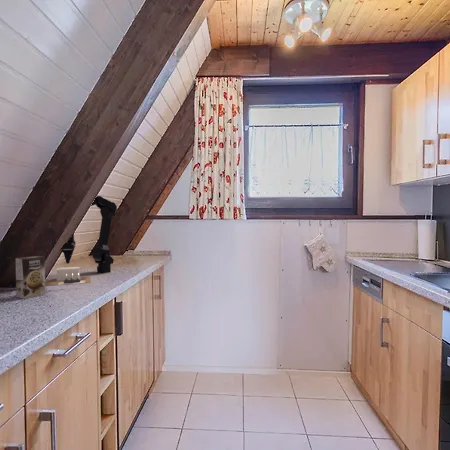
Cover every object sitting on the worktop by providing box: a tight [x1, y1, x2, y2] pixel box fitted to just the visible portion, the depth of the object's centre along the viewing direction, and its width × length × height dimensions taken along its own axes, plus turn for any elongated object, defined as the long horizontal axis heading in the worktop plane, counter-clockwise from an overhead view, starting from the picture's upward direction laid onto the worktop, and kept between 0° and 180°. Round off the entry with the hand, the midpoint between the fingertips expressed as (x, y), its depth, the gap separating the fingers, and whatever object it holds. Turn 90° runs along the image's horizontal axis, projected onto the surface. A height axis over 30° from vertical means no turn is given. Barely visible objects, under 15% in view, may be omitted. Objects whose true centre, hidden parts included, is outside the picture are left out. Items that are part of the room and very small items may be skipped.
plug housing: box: [56, 266, 81, 281], centre depth 172 cm, size 10×5×5 cm, turn 111°
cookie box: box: [15, 255, 46, 300], centre depth 146 cm, size 9×6×16 cm
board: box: [45, 276, 92, 287], centre depth 168 cm, size 20×16×2 cm
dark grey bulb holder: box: [64, 273, 80, 283], centre depth 164 cm, size 7×2×4 cm, turn 111°
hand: (68, 262), depth 172 cm, fingers open, 9 cm apart
